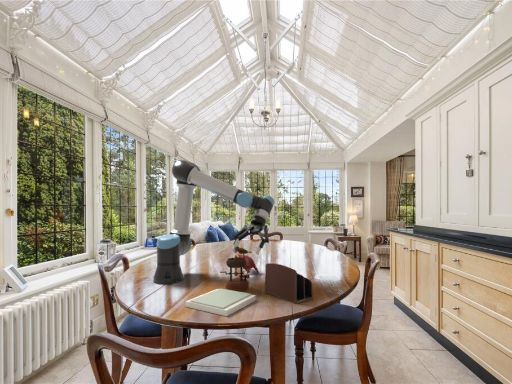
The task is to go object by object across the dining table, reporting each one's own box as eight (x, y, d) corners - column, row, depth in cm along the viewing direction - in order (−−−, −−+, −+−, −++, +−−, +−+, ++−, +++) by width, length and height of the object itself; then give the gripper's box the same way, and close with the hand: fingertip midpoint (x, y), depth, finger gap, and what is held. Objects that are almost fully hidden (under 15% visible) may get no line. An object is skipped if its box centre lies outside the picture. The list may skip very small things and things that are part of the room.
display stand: (185, 306, 116) (185, 300, 116) (217, 293, 133) (217, 287, 133) (226, 316, 105) (226, 309, 105) (255, 300, 122) (255, 294, 122)
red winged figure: (248, 274, 185) (232, 257, 184) (259, 264, 186) (242, 247, 185) (252, 287, 157) (233, 267, 156) (265, 275, 158) (246, 254, 157)
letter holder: (295, 304, 117) (295, 268, 118) (264, 293, 133) (264, 261, 134) (312, 299, 123) (312, 265, 124) (281, 289, 139) (280, 258, 140)
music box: (249, 284, 147) (250, 244, 146) (253, 292, 136) (254, 249, 135) (218, 286, 144) (219, 245, 143) (220, 294, 133) (220, 250, 132)
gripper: (283, 224, 154) (269, 258, 141) (243, 223, 167) (227, 254, 153) (278, 215, 150) (264, 249, 136) (237, 214, 162) (221, 245, 149)
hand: (244, 252), depth 145 cm, fingers open, 13 cm apart
